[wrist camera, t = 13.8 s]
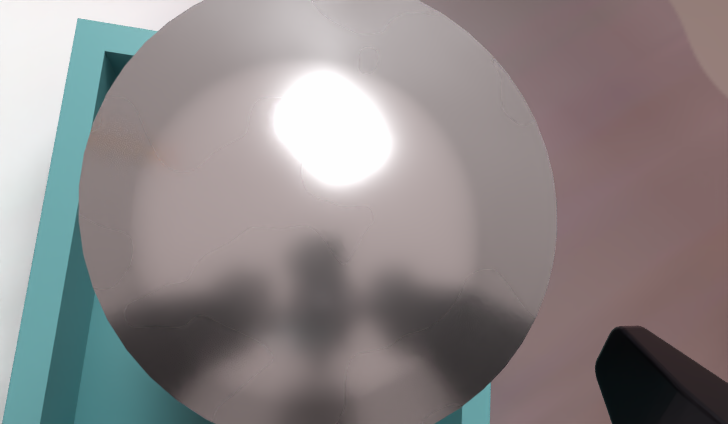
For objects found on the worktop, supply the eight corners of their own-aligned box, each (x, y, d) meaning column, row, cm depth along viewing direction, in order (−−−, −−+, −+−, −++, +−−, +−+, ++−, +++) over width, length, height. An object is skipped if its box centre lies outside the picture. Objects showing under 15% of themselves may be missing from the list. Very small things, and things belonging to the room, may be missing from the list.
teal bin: (46, 462, 18) (-13, 504, 14) (110, 84, 20) (77, 18, 16) (432, 473, 20) (486, 513, 16) (447, 133, 23) (498, 87, 18)
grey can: (394, 224, 20) (607, 95, 9) (325, 403, 19) (473, 525, 7) (223, 148, 20) (215, -102, 8) (136, 327, 18) (-27, 331, 7)
